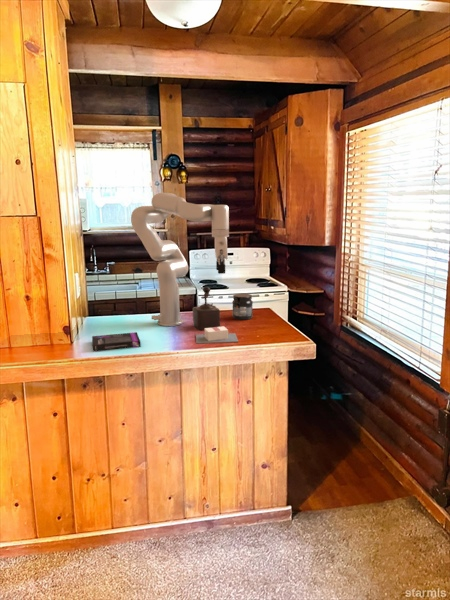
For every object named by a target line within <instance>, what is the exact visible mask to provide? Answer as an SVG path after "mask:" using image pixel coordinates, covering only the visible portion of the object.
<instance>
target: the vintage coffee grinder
mask: <svg viewBox="0 0 450 600" xmlns="http://www.w3.org/2000/svg"><path fill="white" fill-rule="evenodd" d="M202 292H203V293H204V294H203V295H204V296H201V297H200V298H201V299H204V303H203V304H201V305H199V306H194V307H192V321H193V322H192V324H193V327H195V328H196V329H197V330H199V331H205V330H204V328H213V327H221V324H220V323H221V321H220V320H221V315H220V310H221V309H220V308H218V307H217V306H216V305H213V303H212V302H211V303H208V300H207V298H208V297H209V296H211V295H210V292H211V288H210V287H209V286H204V287H203V288H202Z"/></svg>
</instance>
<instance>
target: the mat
mask: <svg viewBox="0 0 450 600" xmlns="http://www.w3.org/2000/svg"><path fill="white" fill-rule="evenodd" d="M195 340H196V341H195V342H196V344H197V345H198V344H201V345H202V344H224V343H225V344H227V343H228V344H230V343H239V340H238V337H237V334H236V332H233V333H231V332H228V339H221V340H212V341H208V340H207V339H206V338H205V333H204V334H203V333H202V334H199V333H198V334H195Z"/></svg>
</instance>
